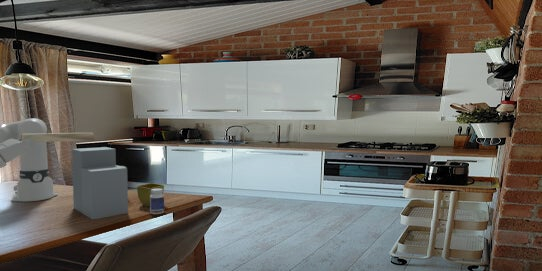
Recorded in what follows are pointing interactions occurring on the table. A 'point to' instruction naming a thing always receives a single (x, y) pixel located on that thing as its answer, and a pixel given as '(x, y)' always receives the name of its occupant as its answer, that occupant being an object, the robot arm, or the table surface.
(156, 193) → the pill bottle
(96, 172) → the stepped shelf
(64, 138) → the wooden rod
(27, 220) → the table surface
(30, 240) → the table surface
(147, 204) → the flower pot
